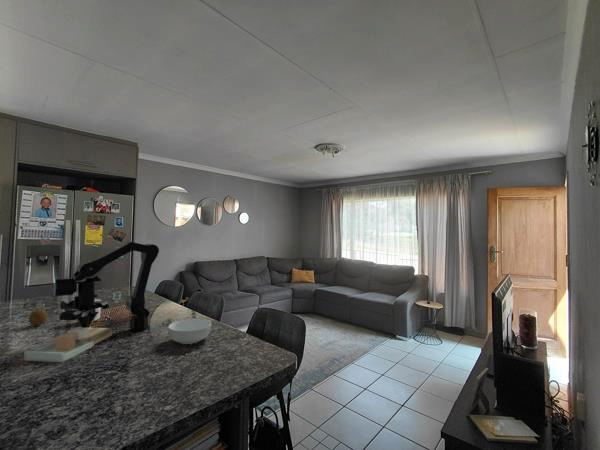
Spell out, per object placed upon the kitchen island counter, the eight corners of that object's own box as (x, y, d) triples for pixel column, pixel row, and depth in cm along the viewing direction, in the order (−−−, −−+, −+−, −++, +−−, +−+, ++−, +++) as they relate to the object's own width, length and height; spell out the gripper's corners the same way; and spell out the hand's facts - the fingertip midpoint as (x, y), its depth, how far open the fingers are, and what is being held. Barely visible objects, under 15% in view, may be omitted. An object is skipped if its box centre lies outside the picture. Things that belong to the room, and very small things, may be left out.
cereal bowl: (219, 337, 124) (219, 321, 125) (189, 352, 109) (190, 333, 109) (190, 331, 132) (190, 315, 132) (158, 344, 116) (158, 326, 117)
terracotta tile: (75, 334, 111) (68, 337, 108) (75, 347, 111) (68, 350, 108) (63, 333, 111) (56, 336, 108) (63, 346, 111) (56, 350, 108)
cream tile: (89, 335, 117) (89, 327, 117) (79, 339, 112) (79, 332, 112) (77, 334, 117) (77, 327, 117) (66, 339, 112) (67, 331, 112)
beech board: (111, 335, 125) (112, 328, 125) (91, 345, 114) (91, 338, 114) (85, 334, 126) (85, 327, 126) (62, 344, 115) (62, 337, 115)
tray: (93, 346, 114) (93, 338, 114) (61, 362, 100) (62, 353, 100) (59, 344, 115) (60, 336, 115) (24, 360, 101) (24, 351, 101)
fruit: (25, 327, 134) (26, 309, 134) (41, 323, 139) (42, 306, 140) (33, 329, 131) (33, 311, 131) (49, 324, 137) (50, 308, 137)
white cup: (90, 324, 139) (91, 303, 139) (77, 323, 140) (77, 302, 140) (104, 319, 146) (105, 299, 146) (91, 318, 148) (92, 298, 148)
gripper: (86, 287, 129) (85, 322, 128) (46, 297, 110) (45, 338, 110) (110, 288, 128) (109, 323, 128) (74, 298, 109) (72, 340, 109)
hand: (85, 331), depth 118 cm, fingers closed
